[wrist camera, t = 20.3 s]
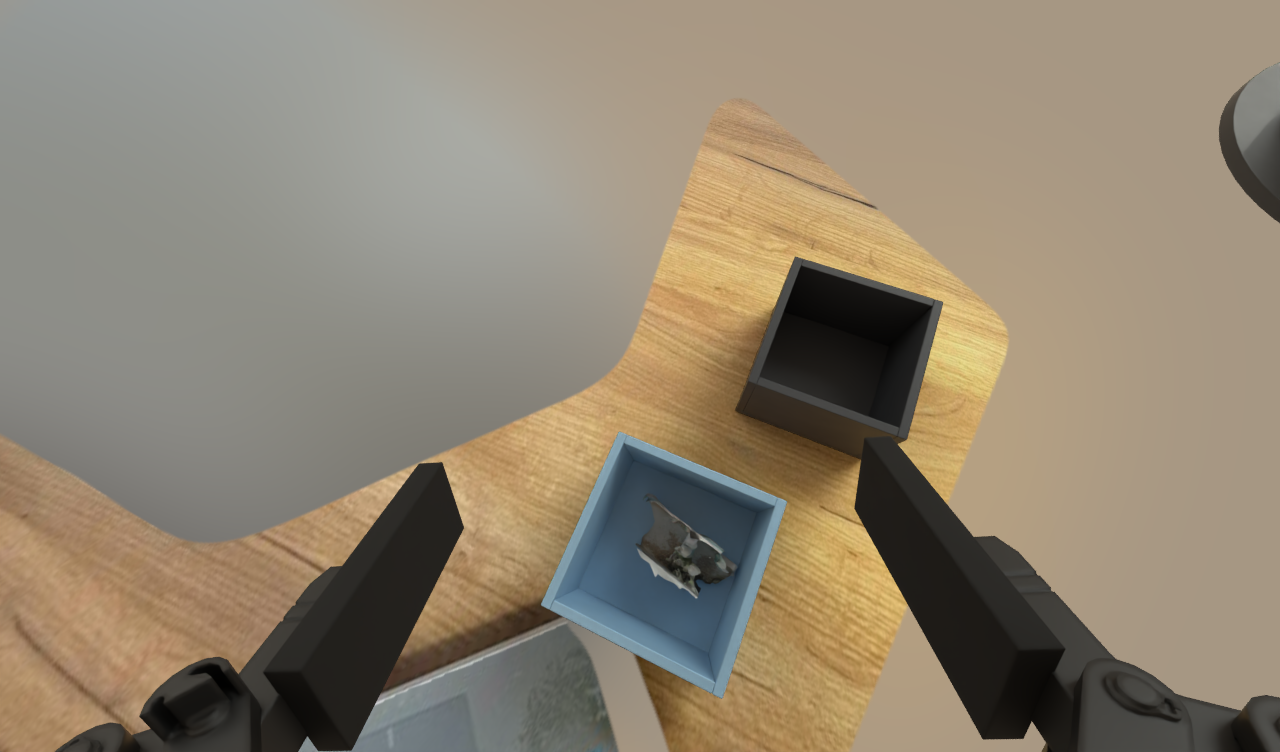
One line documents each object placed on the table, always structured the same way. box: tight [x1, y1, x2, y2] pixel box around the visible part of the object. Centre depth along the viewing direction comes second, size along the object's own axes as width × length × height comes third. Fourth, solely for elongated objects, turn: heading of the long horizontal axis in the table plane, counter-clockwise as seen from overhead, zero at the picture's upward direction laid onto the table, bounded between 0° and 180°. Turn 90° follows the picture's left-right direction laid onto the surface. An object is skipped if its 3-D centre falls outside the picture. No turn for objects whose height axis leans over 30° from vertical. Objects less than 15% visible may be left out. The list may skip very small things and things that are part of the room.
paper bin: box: [541, 432, 787, 699], centre depth 31 cm, size 11×11×8 cm
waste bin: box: [735, 257, 943, 459], centre depth 35 cm, size 10×10×8 cm
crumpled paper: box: [635, 493, 737, 599], centre depth 31 cm, size 4×8×7 cm, turn 54°
